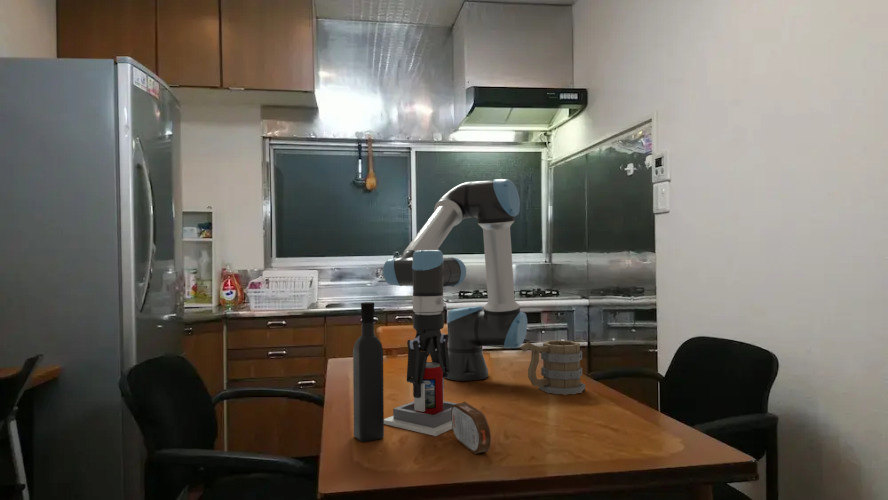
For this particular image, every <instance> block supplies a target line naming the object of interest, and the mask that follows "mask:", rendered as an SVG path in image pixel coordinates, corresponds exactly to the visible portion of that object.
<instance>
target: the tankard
mask: <svg viewBox="0 0 888 500" xmlns="http://www.w3.org/2000/svg"><path fill="white" fill-rule="evenodd" d="M520 349H521V350H522V352H524V353H525V352H526V351H528V350H529V351H531V356H530V362H529V366H528V370H527V374H528V380H529V381H530V384H531V385H532V386H534V387H538V389H539V390H541V391H542V390H543V391H542V392H544V391H545V392H544V393H546V392H547V393H546V394H549V393H553V394H552V395H559V394H565V395H564V396H568V395H567V394H572V395H577V394H576V393H581V394H582V393H583V392H584V391H585V390H586V384H585V383H583V382H581V377H582V376H583V367H581V361H582V360H583V351H582V350H581V344H580V342H577V341H573V340H547V341H545V342H543V343H542V346H538V345H535V344H533V343H532V342H530V341H527V342H525V343H524V344H521V345H520ZM540 359H541V360H542V361H543V362H542V365H543V366H541V369H540V372H541V373H540V375H541V376H543V378H537V372H536V371H537V368H538V365H539V362H540ZM584 389H585V390H584ZM583 390H584V391H583ZM582 391H583V392H582Z"/></svg>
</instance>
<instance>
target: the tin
mask: <svg viewBox="0 0 888 500" xmlns="http://www.w3.org/2000/svg"><path fill="white" fill-rule="evenodd" d="M451 419H452V429H451V430H452V432H453V435H454V437H455V439H456V440H457V442H459V443H460V444H462V446H464V447H465V448H466V449H468V451H470V452H471V453H472V454H476V455H477V454H481V453H488V452H489V450H490V449H491V444H492V438H491V437H492V434H491V429H490V426H489V423H488V420H487V418H486V416H485V415H484V413H483V412H482V411H481V410H479V409H478V408H476V407H474V406H473V405H471V404H469V403H468V402H467V401H463V402H459V403H458V404H455V405H453V406H452V409H451Z"/></svg>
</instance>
